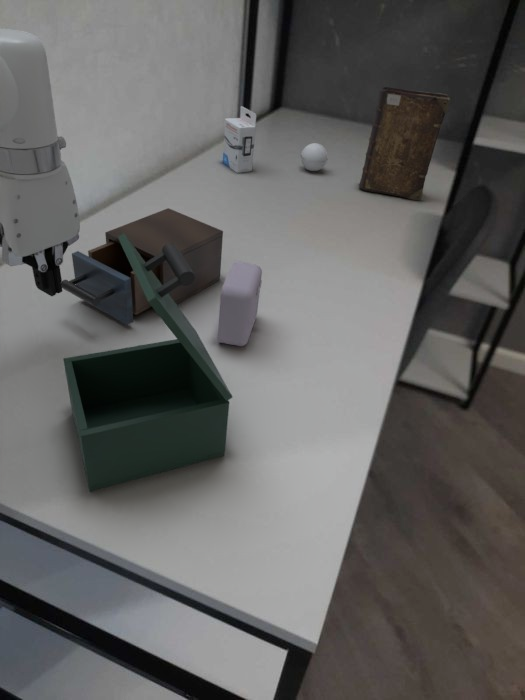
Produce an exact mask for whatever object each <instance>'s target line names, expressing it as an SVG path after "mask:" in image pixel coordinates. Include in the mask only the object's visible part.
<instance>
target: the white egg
mask: <svg viewBox="0 0 525 700" xmlns="http://www.w3.org/2000/svg"><path fill="white" fill-rule="evenodd" d="M300 160H301V164H302V165H303V167H304V168H305V169H306V170H308V171H310V172H318V171H320V170H322V169H323V168H324V167H325V165H326V164H327V161H328V153H327V149H326V148H325V146H324V145H322V144H320V143H317V142H313V143H310V144H307V145H306V146H305V147H304V148H303V149H302V151H301V154H300Z"/></svg>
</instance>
